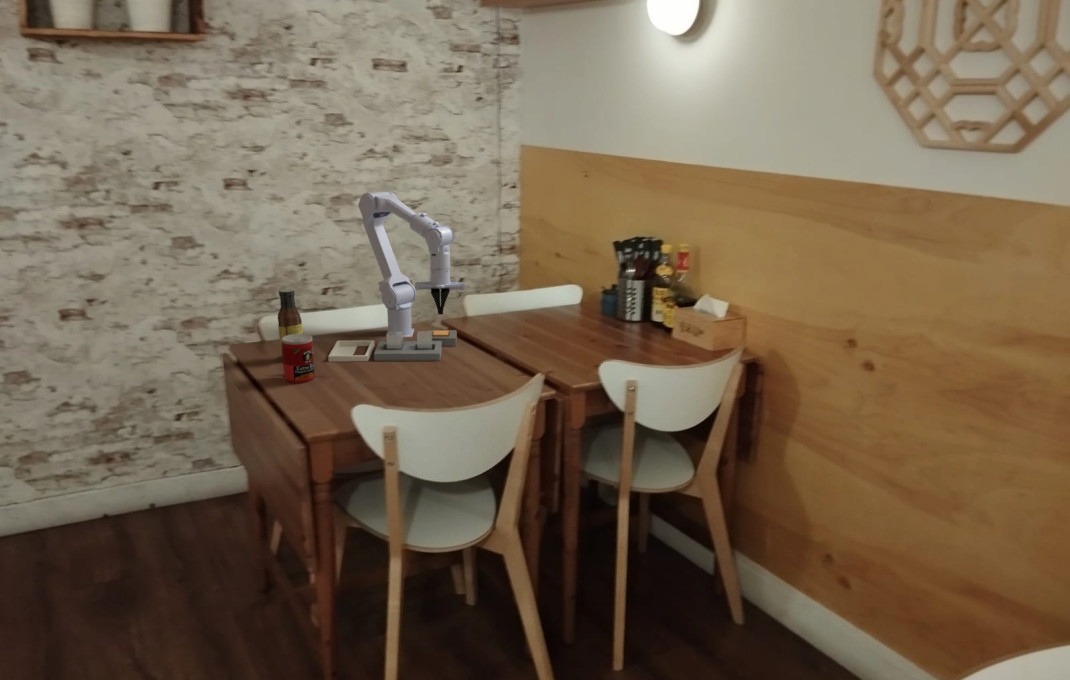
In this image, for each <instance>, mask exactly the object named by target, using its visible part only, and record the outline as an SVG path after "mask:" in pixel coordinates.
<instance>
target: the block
mask: <svg viewBox="0 0 1070 680" xmlns="http://www.w3.org/2000/svg"><path fill="white" fill-rule="evenodd" d="M416 341H417V350H433V348H432V331H427V330H426V331H421V330H420V331H417V334H416Z"/></svg>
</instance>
